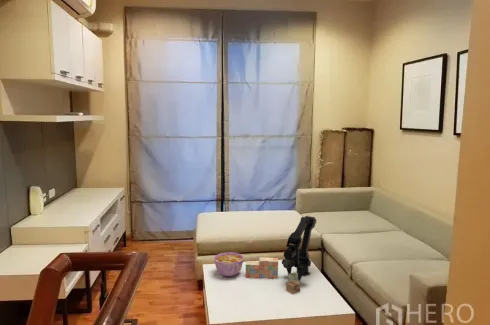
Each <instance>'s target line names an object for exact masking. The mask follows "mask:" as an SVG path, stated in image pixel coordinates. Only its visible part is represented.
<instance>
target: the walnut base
mask: <svg viewBox="0 0 490 325" xmlns="http://www.w3.org/2000/svg"><path fill="white" fill-rule="evenodd" d="M285 290H286V291H285V292H287V291H288V292H290V293H292V294H294V293H296V294H298V293H297V292H299V293H301V292H300V291H301V283H300V282H296V281H294V280H292V281H289V280H288V281H286V283H285ZM288 292H287V293H288ZM290 293H289V294H290ZM292 294H291V295H292ZM294 295H295V294H294Z"/></svg>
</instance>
